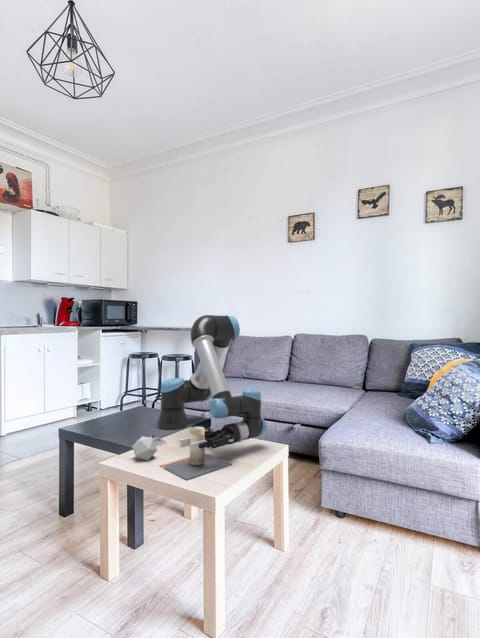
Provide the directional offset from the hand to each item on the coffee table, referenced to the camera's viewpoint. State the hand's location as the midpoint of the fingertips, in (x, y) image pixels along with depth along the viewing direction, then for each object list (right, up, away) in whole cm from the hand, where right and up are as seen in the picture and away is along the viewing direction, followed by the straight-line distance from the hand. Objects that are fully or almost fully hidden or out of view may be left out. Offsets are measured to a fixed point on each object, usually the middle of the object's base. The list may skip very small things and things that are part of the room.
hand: (185, 445), depth 129 cm
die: (-17, -9, +11) cm, 22 cm away
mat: (+4, -9, +3) cm, 10 cm away
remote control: (-19, -10, +30) cm, 37 cm away
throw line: (-2, -9, +10) cm, 13 cm away
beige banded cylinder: (+4, -7, +3) cm, 9 cm away
